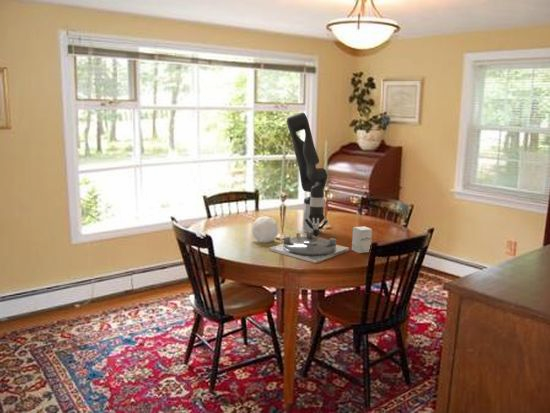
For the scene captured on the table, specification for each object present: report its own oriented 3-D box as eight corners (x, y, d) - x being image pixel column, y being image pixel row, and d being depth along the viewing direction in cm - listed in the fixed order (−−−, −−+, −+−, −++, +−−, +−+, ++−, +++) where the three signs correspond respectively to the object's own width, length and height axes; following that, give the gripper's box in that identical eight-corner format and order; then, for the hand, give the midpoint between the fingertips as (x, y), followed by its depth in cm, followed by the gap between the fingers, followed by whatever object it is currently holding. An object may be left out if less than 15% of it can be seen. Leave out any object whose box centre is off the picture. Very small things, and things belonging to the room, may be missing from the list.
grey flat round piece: (284, 239, 280) (284, 230, 278) (334, 241, 278) (335, 232, 277) (281, 253, 253) (282, 243, 252) (337, 256, 251) (337, 246, 250)
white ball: (267, 248, 285) (279, 225, 289) (272, 246, 271) (285, 222, 274) (245, 236, 284) (258, 213, 287) (249, 233, 269) (262, 209, 273)
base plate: (304, 239, 286) (304, 230, 285) (349, 250, 267) (349, 240, 266) (269, 250, 264) (269, 240, 263) (315, 263, 245) (315, 252, 244)
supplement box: (359, 253, 262) (360, 230, 260) (351, 249, 269) (352, 226, 266) (371, 252, 265) (372, 229, 263) (363, 248, 272) (364, 225, 269)
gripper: (303, 205, 271) (302, 236, 274) (327, 207, 267) (326, 238, 271) (306, 203, 278) (305, 233, 281) (330, 204, 274) (329, 235, 278)
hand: (316, 236), depth 276 cm, fingers closed
